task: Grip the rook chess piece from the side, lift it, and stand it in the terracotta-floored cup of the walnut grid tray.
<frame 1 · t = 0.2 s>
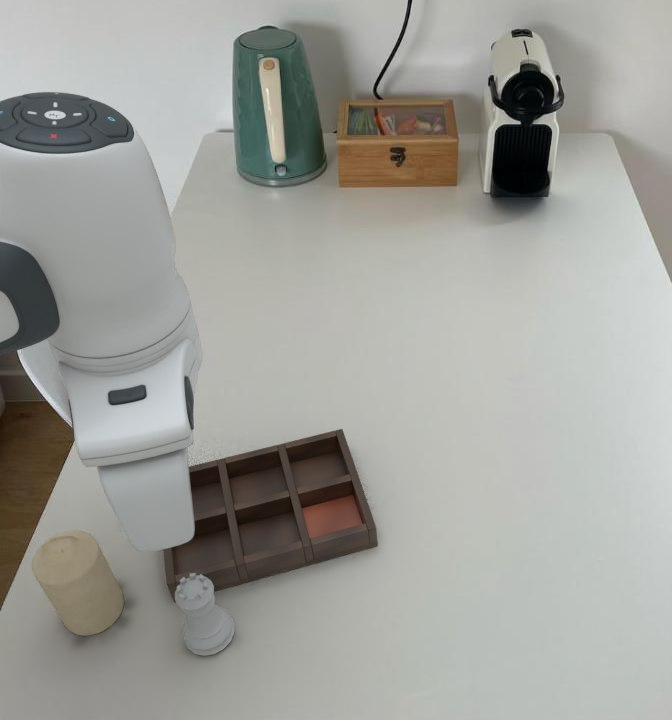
hand: (173, 481, 62), 19 cm above the table, tool pointing down, fingers open, 8 cm apart
candle: (95, 610, 75), on the table
rook chess piece: (211, 635, 73), on the table
grid: (266, 519, 82), on the table
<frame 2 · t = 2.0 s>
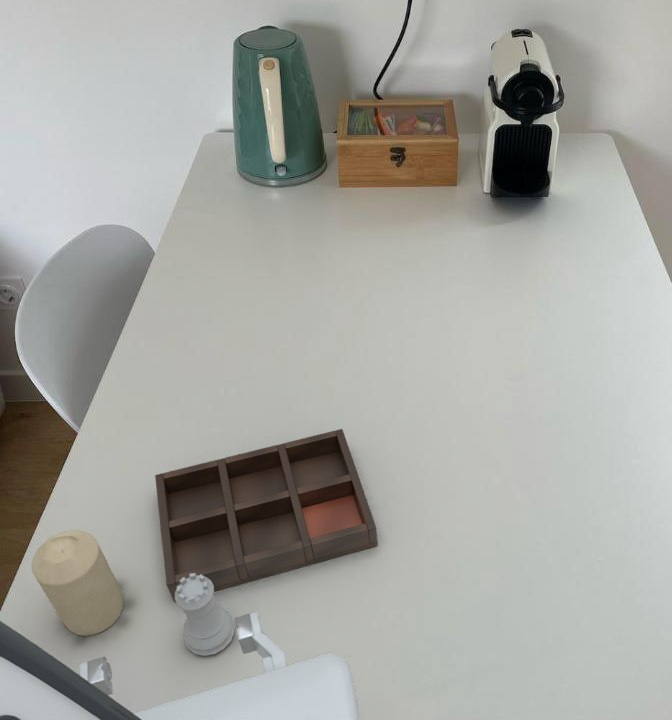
hand: (173, 641, 51), 20 cm above the table, tool horizontal, fingers open, 8 cm apart
nothing on the table moved.
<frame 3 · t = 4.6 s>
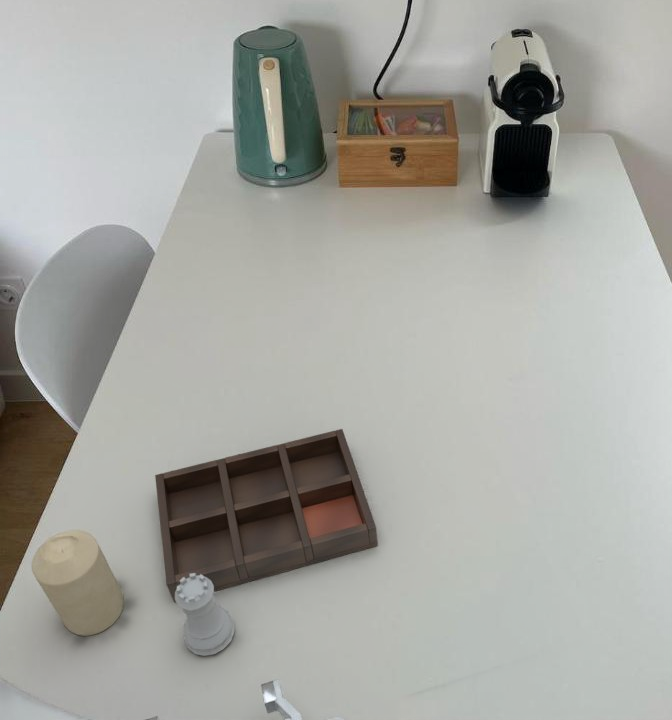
hand: (211, 702, 63), 5 cm above the table, tool horizontal, fingers open, 8 cm apart
nothing on the table moved.
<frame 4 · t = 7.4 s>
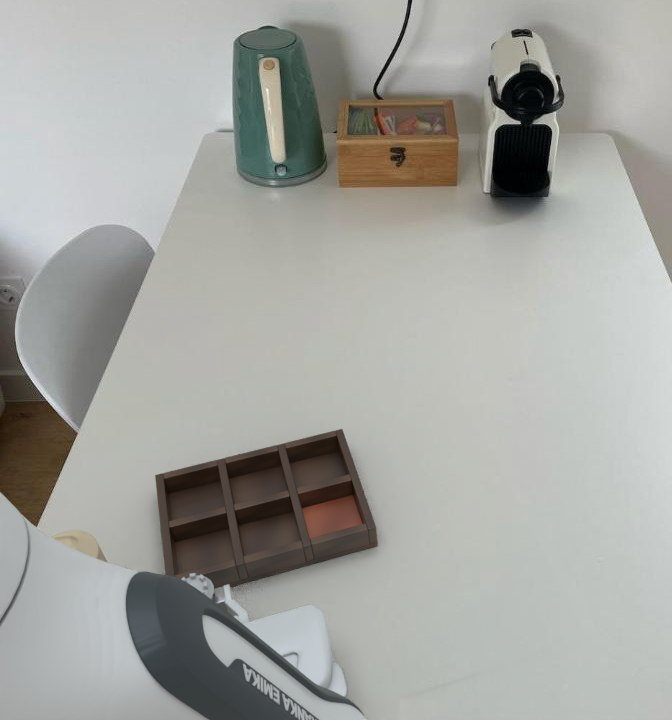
hand: (197, 596, 70), 5 cm above the table, tool horizontal, fingers closed on rook chess piece, 3 cm apart
rook chess piece: (211, 635, 73), on the table, touching gripper
everything else where it was.
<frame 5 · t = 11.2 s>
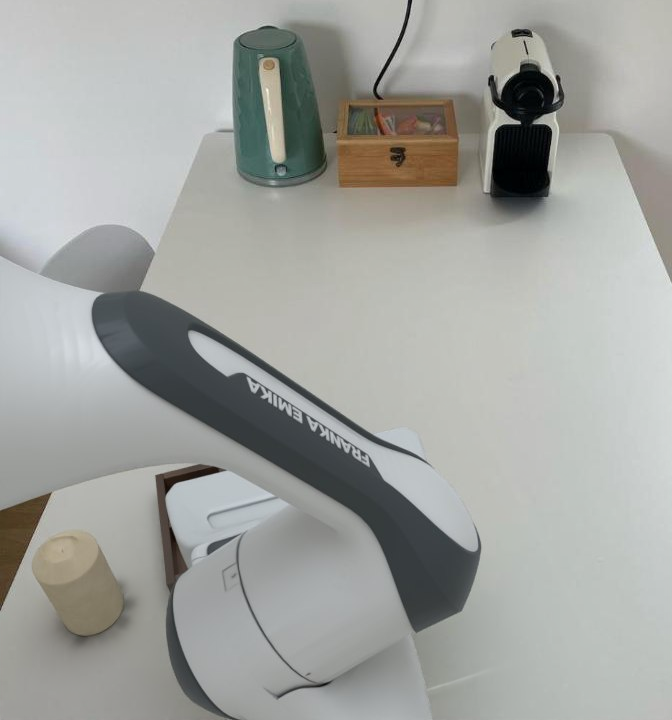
hand: (284, 425, 68), 17 cm above the table, tool horizontal, fingers closed on rook chess piece, 3 cm apart
rook chess piece: (294, 473, 71), point 12 cm above the table, touching gripper
everything else where it was.
when the fingers open (6 cm above the table, at t = 14.9 s): rook chess piece stays where it is, resting on grid.
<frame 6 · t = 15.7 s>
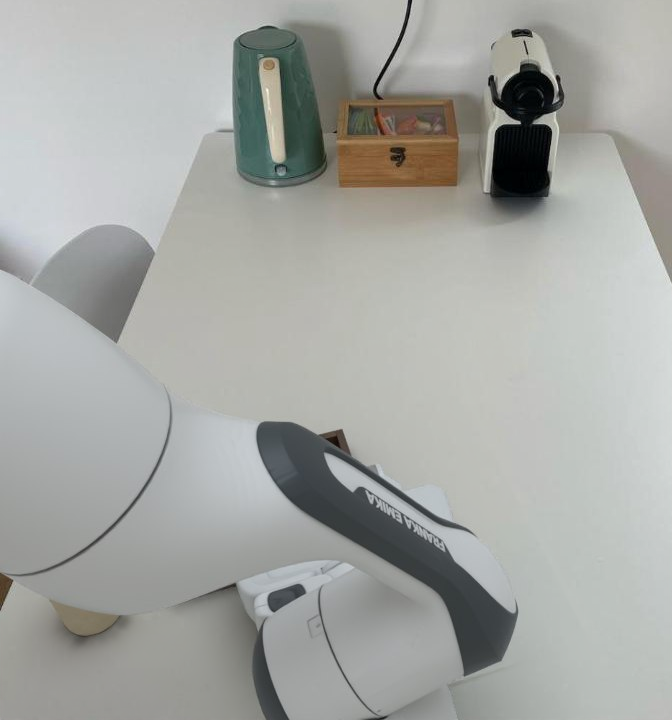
hand: (325, 481, 77), 6 cm above the table, tool horizontal, fingers open, 8 cm apart
rook chess piece: (334, 524, 80), point 1 cm above the table, touching grid
everything else where it was.
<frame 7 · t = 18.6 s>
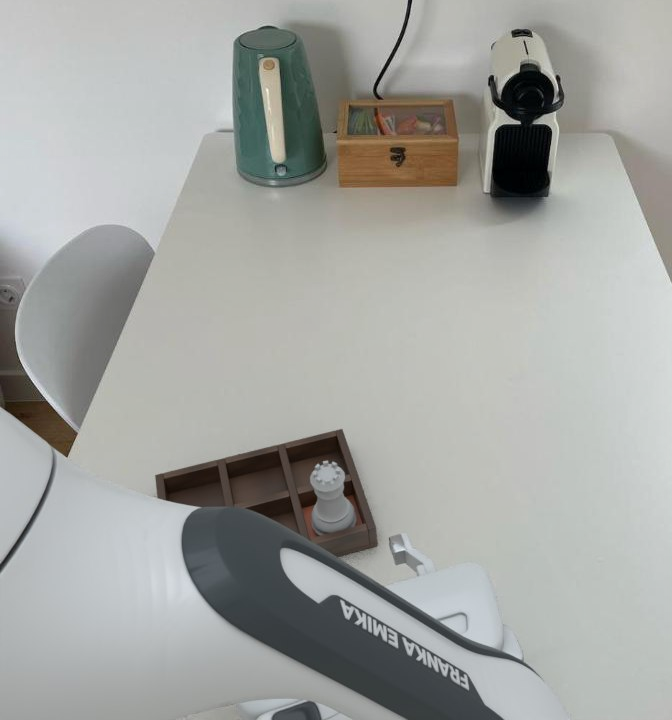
hand: (340, 554, 64), 12 cm above the table, tool horizontal, fingers open, 8 cm apart
nothing on the table moved.
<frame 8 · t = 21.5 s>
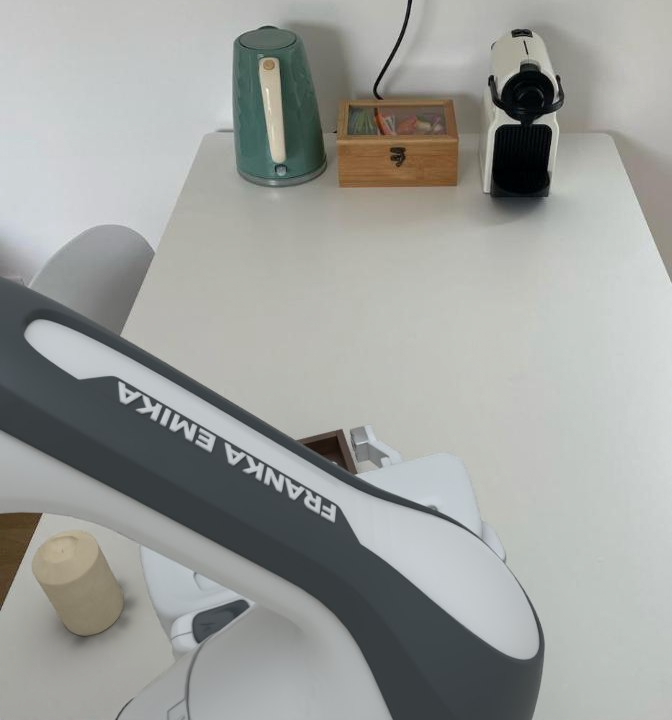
hand: (292, 449, 54), 26 cm above the table, tool horizontal, fingers open, 8 cm apart
nothing on the table moved.
at the end: rook chess piece 0.2 cm from the target spot in the grid, point 0.6 cm above the grid's base; rook chess piece tilted 0°; the gripper is holding nothing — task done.
